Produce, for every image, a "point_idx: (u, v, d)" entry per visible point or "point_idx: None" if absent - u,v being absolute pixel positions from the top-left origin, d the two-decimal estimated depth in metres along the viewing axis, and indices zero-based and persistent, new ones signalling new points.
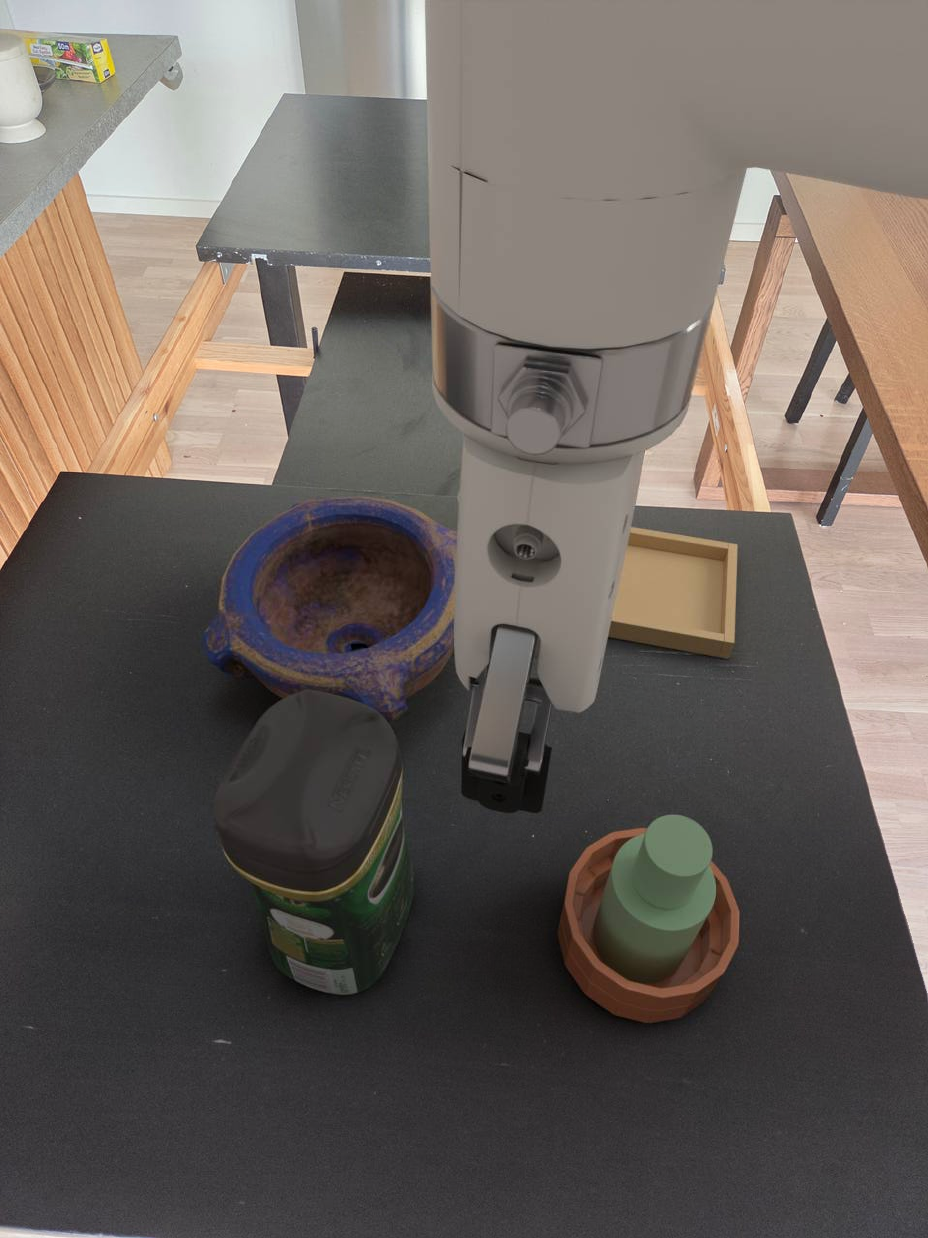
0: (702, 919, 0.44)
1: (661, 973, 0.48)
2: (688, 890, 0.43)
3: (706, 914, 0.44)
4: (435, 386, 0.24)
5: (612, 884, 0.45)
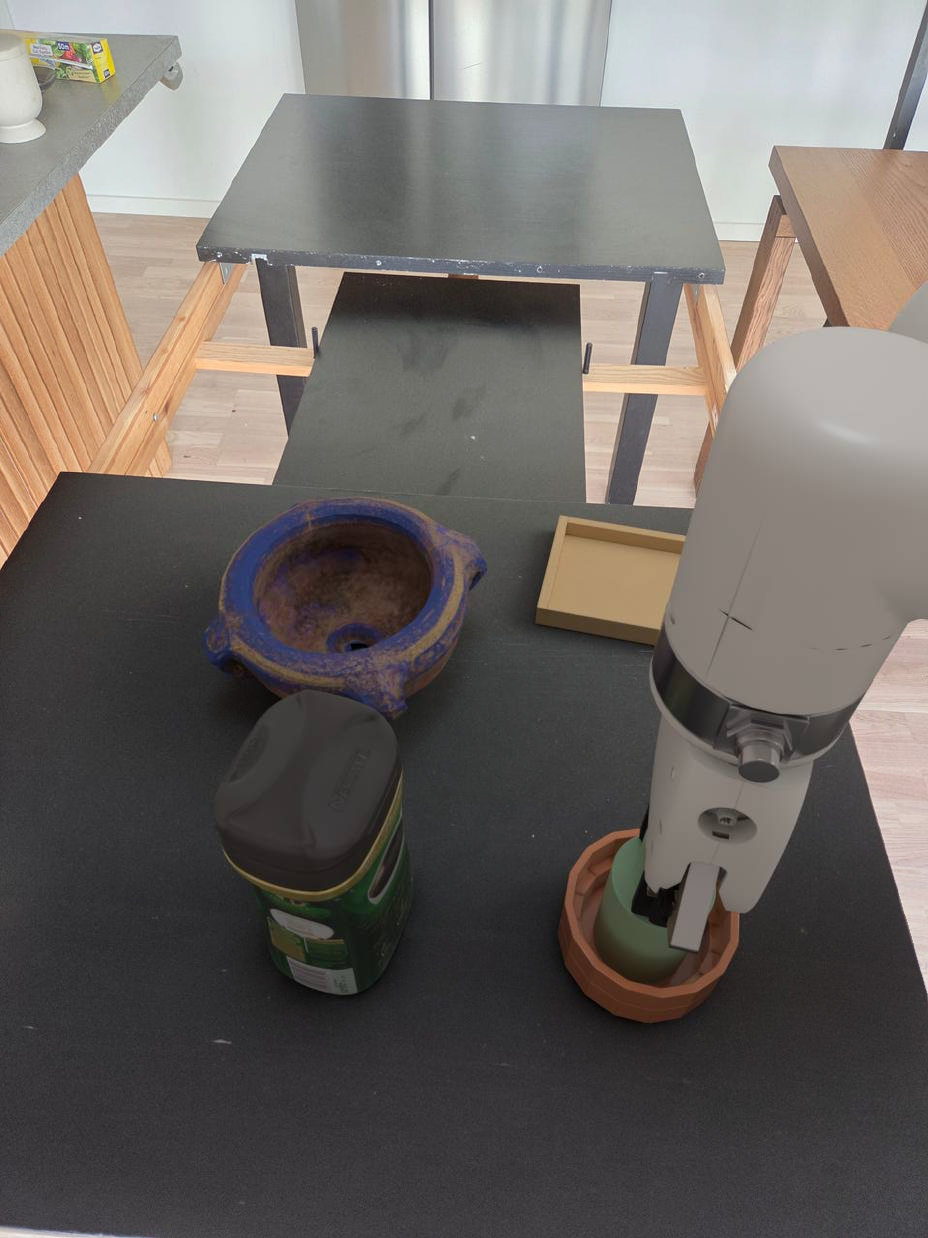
0: None
1: (661, 973, 0.48)
2: None
3: None
4: (658, 696, 0.32)
5: (612, 884, 0.45)
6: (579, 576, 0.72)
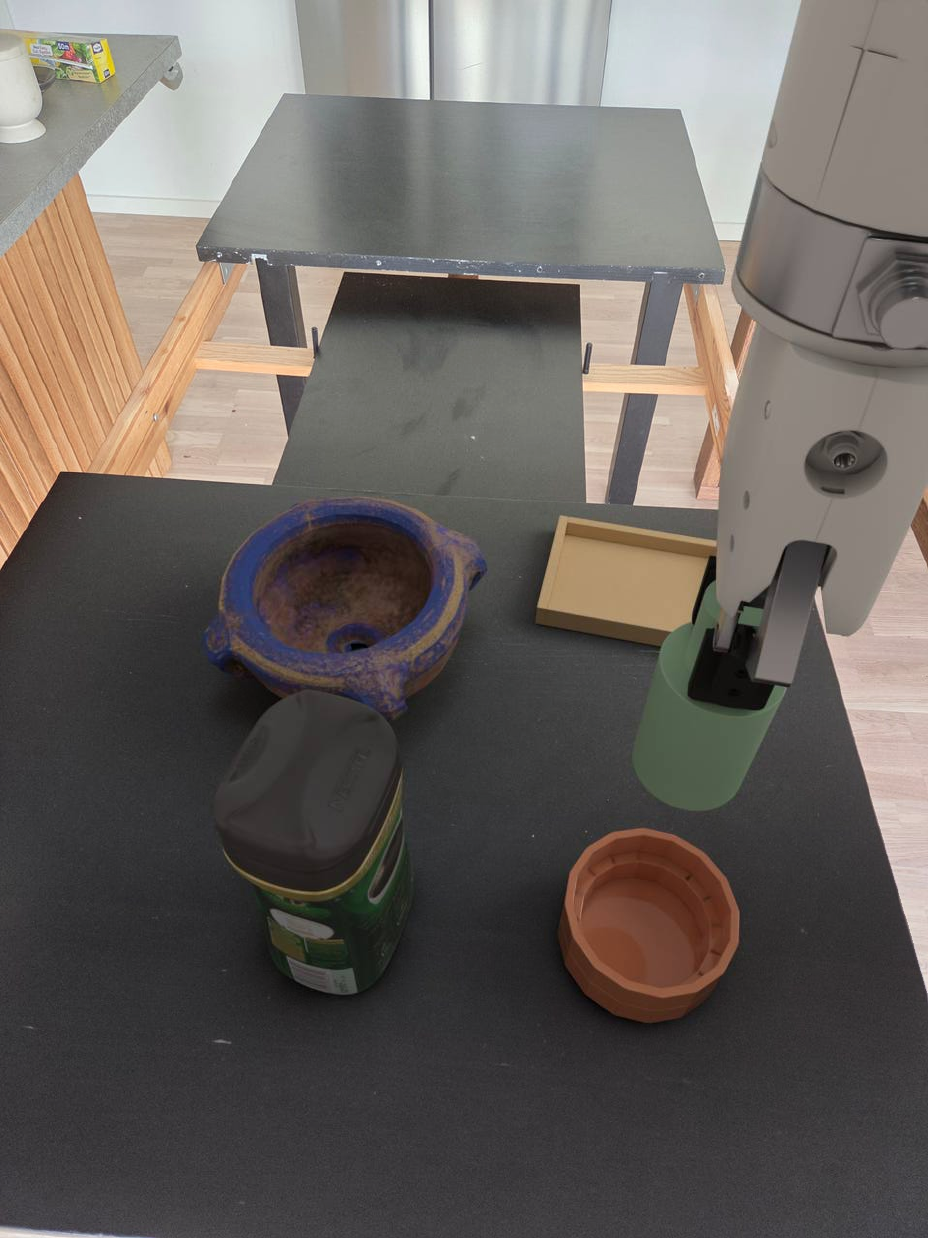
0: (774, 705, 0.36)
1: (717, 794, 0.40)
2: None
3: (778, 700, 0.36)
4: (749, 296, 0.24)
5: (661, 672, 0.37)
6: (579, 576, 0.72)
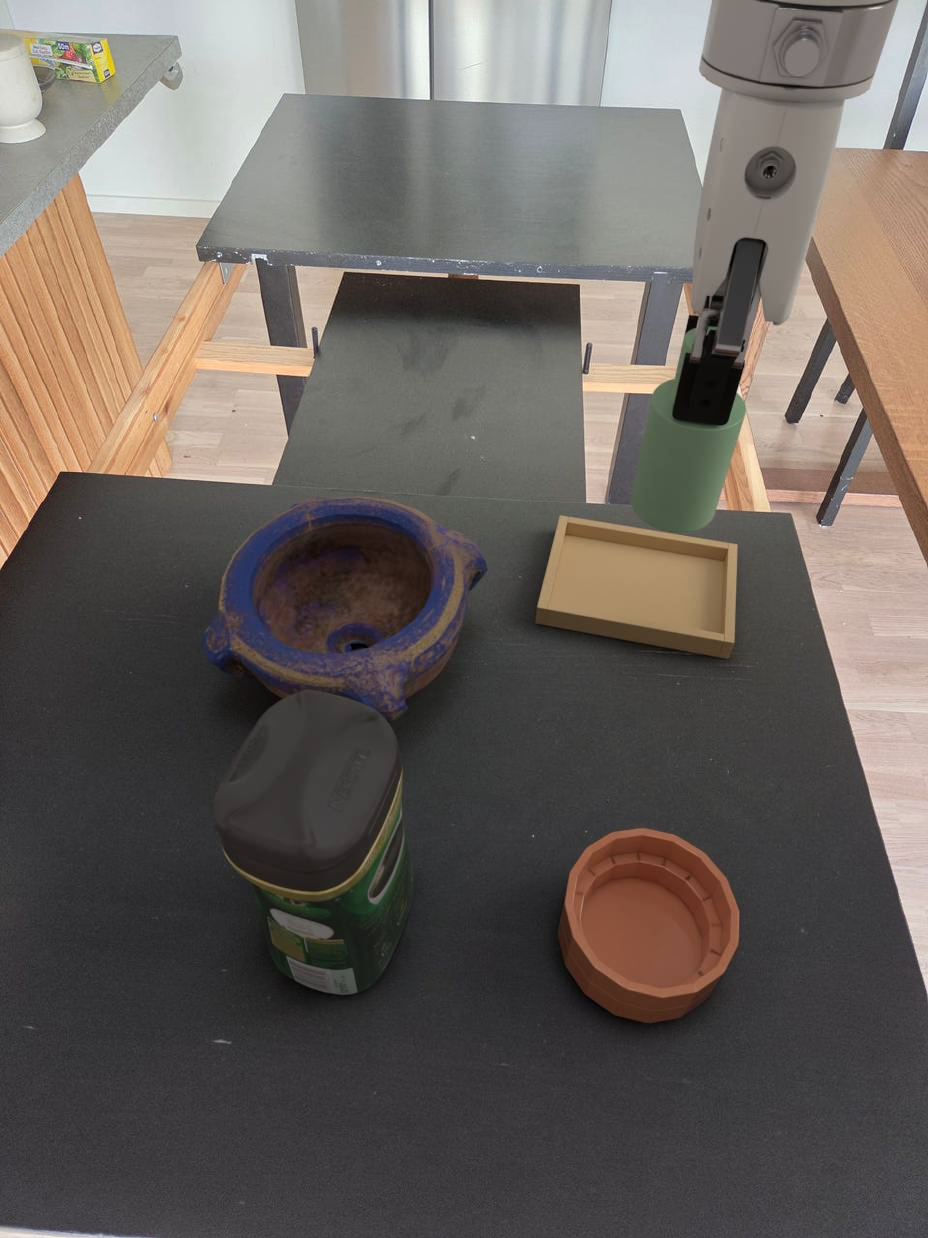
0: (735, 424, 0.49)
1: (695, 514, 0.54)
2: None
3: (738, 421, 0.49)
4: (709, 67, 0.37)
5: (652, 406, 0.50)
6: (579, 576, 0.72)
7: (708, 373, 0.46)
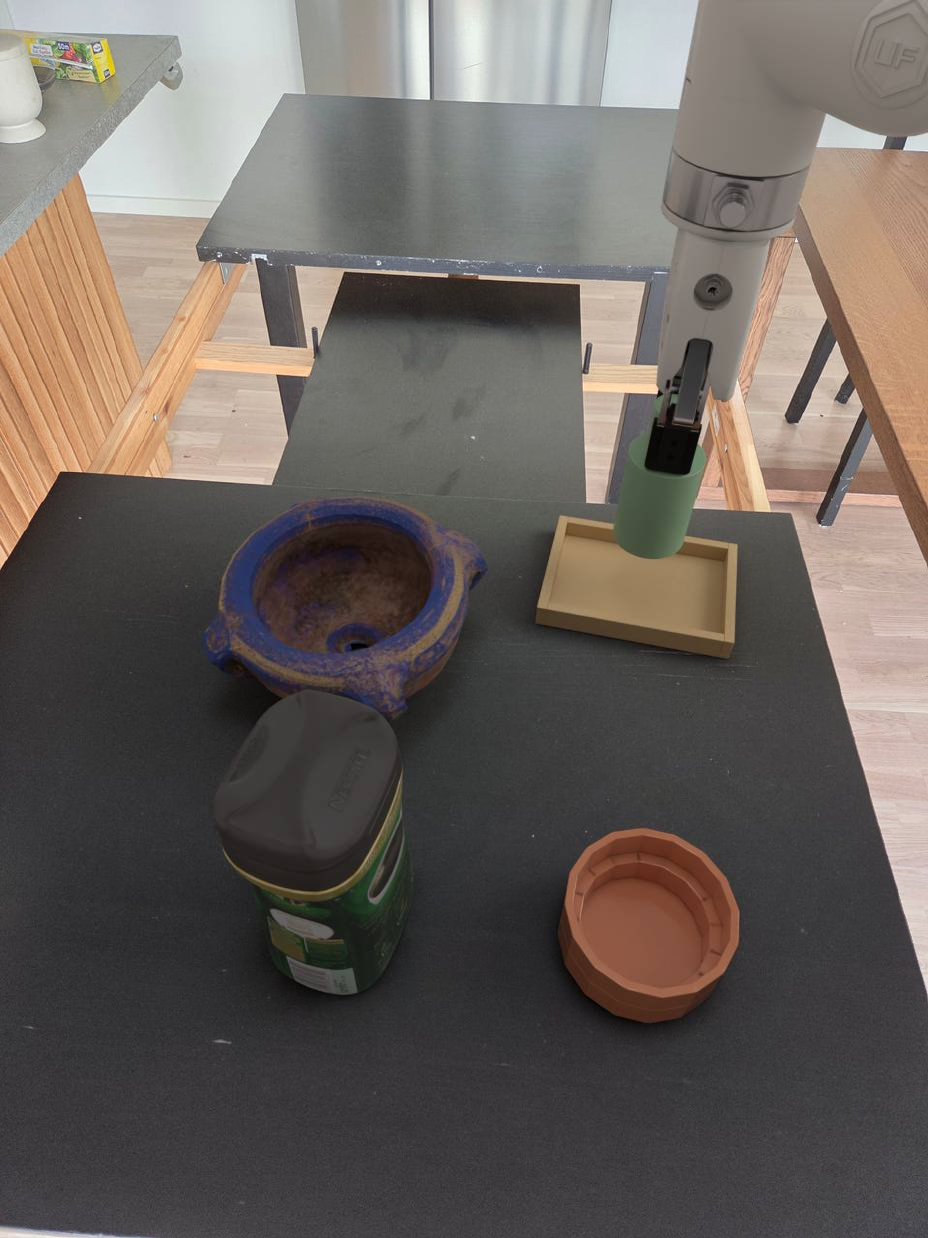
0: (696, 473, 0.60)
1: (665, 544, 0.64)
2: None
3: (699, 470, 0.60)
4: (667, 209, 0.47)
5: (629, 457, 0.61)
6: (579, 576, 0.72)
7: (672, 435, 0.56)
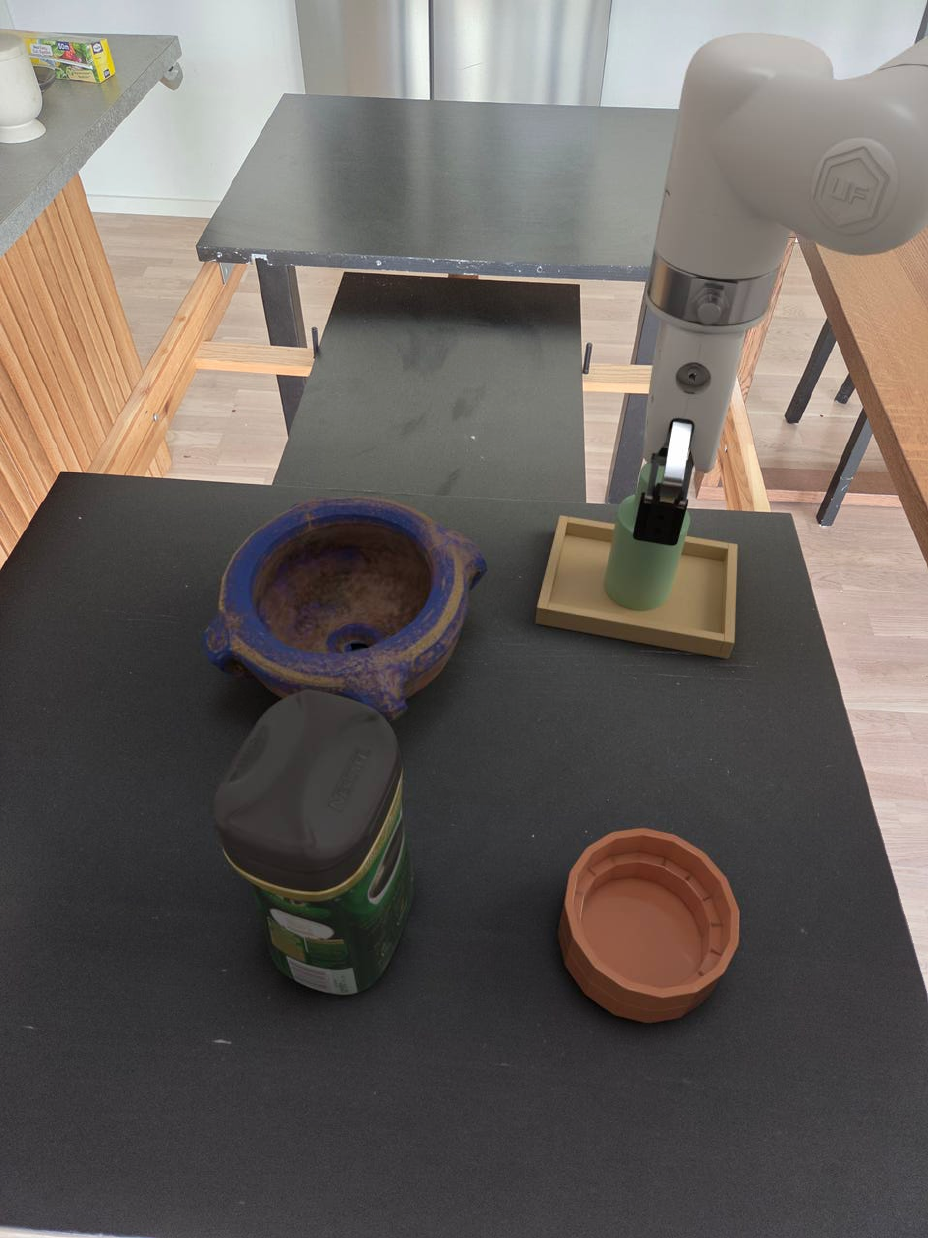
0: (680, 534, 0.64)
1: (652, 597, 0.69)
2: None
3: (682, 531, 0.64)
4: (651, 302, 0.52)
5: (618, 518, 0.66)
6: (579, 576, 0.72)
7: (659, 510, 0.58)
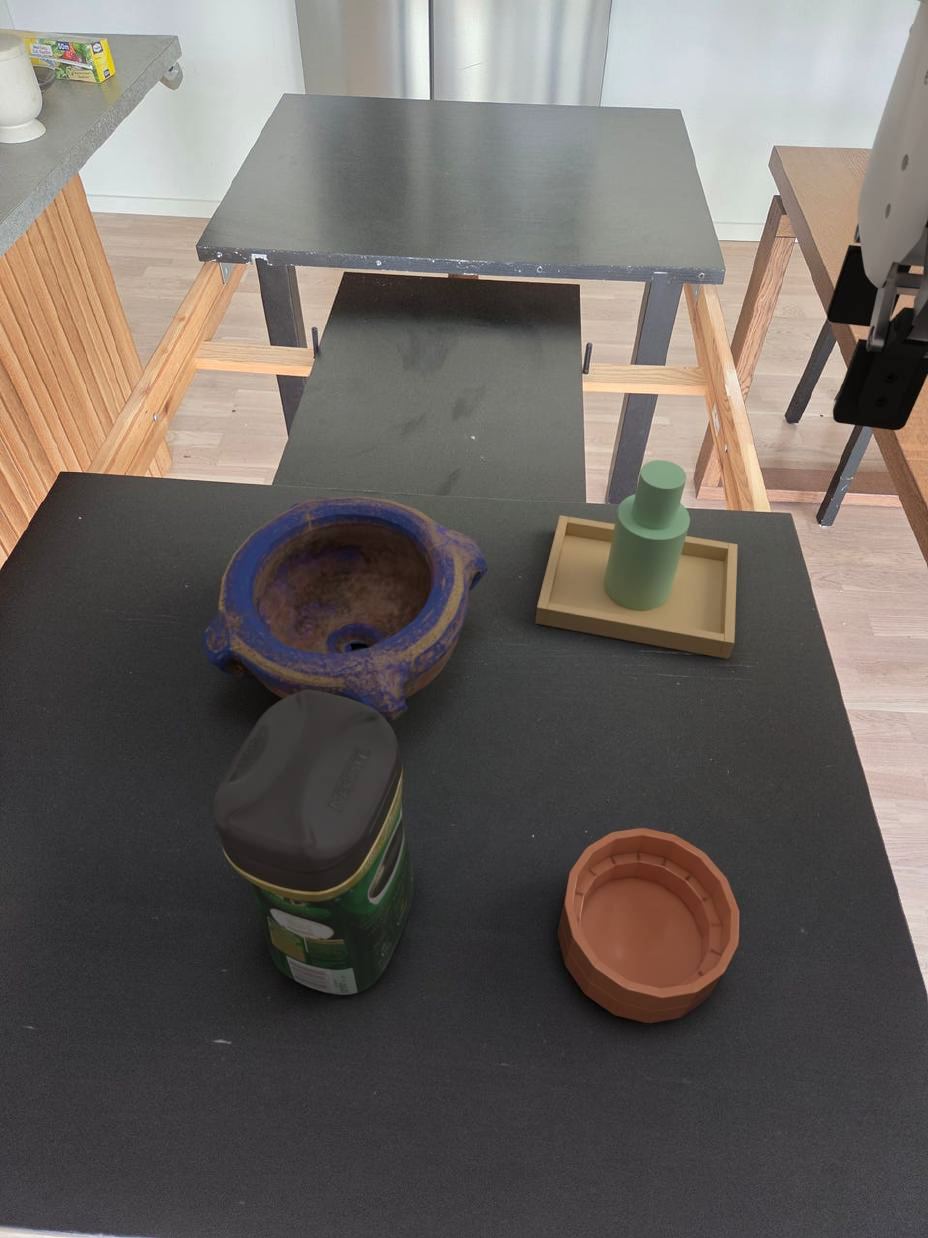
0: (680, 534, 0.64)
1: (652, 597, 0.69)
2: (669, 506, 0.63)
3: (682, 531, 0.64)
4: None
5: (618, 518, 0.66)
6: (579, 576, 0.72)
7: (890, 364, 0.36)
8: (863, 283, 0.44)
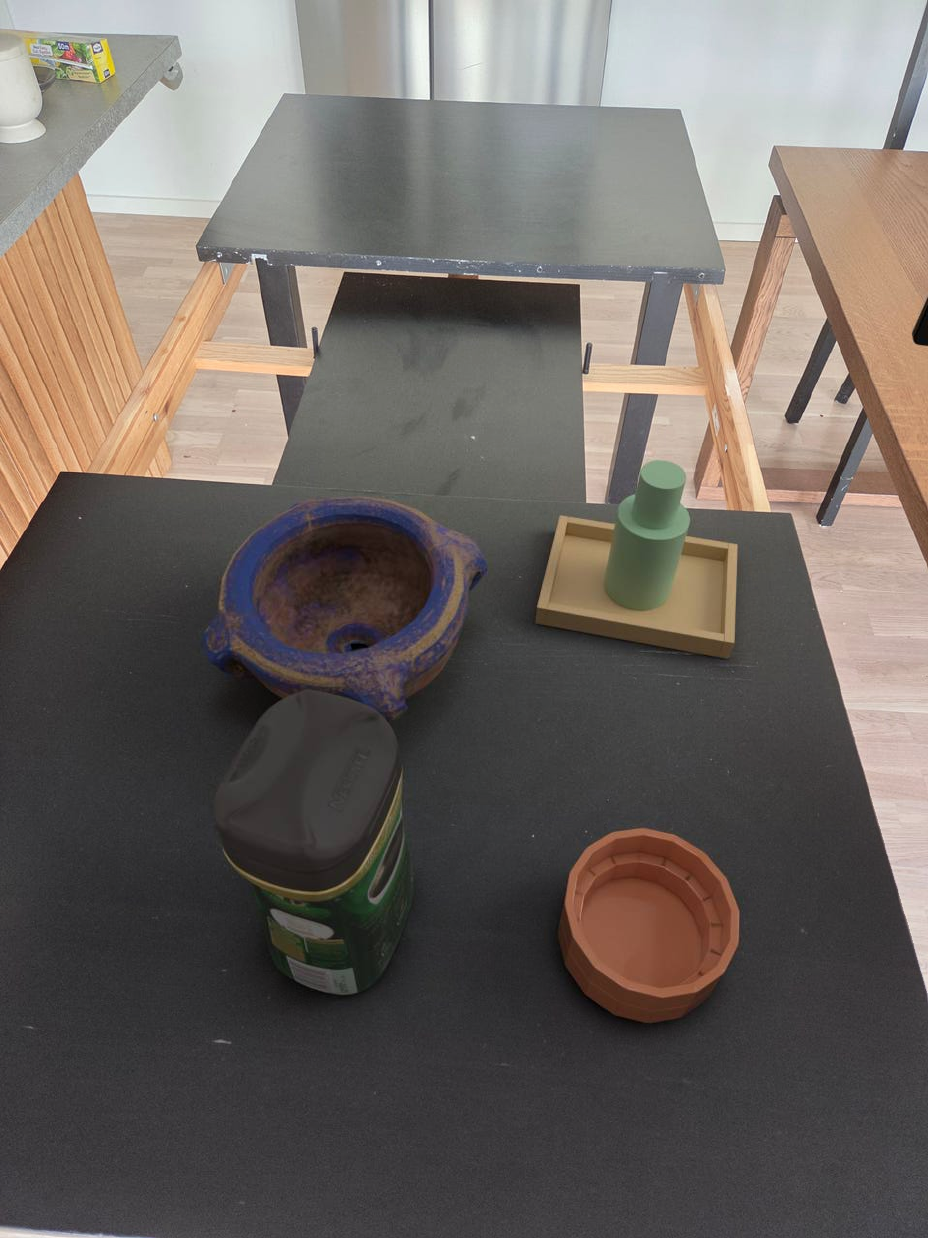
0: (680, 534, 0.64)
1: (652, 597, 0.69)
2: (669, 506, 0.63)
3: (682, 531, 0.64)
4: None
5: (618, 518, 0.66)
6: (579, 576, 0.72)
7: None
8: None
